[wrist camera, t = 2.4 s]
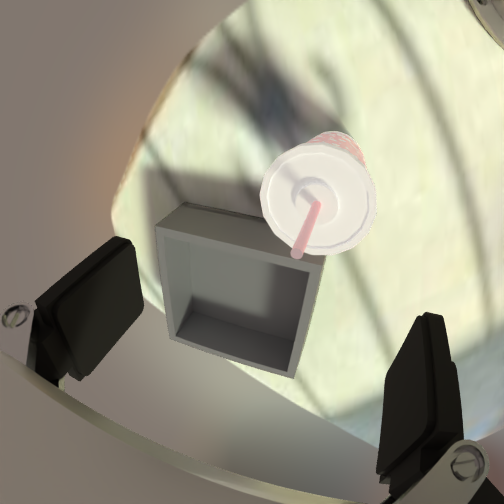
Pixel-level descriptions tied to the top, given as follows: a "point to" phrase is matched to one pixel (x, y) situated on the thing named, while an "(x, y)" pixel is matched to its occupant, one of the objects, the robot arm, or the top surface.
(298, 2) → the top surface
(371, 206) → the beverage cup
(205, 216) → the bin
